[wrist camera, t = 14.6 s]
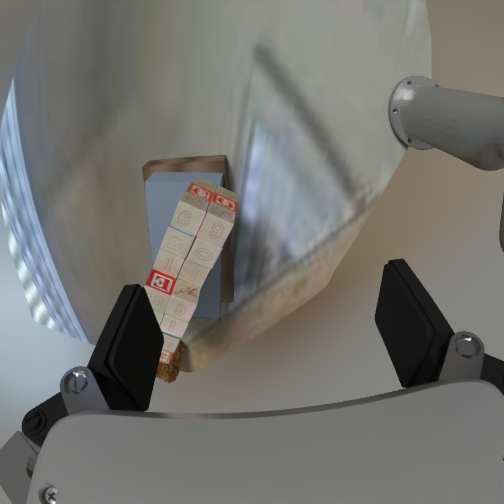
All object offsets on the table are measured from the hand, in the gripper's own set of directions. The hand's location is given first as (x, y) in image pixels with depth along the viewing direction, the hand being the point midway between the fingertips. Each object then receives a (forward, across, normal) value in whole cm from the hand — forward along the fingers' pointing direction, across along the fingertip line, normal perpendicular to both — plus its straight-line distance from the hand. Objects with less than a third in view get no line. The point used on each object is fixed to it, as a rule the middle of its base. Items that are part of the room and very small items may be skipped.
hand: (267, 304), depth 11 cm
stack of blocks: (+28, +11, +13) cm, 33 cm away
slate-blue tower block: (+32, +11, +14) cm, 37 cm away
